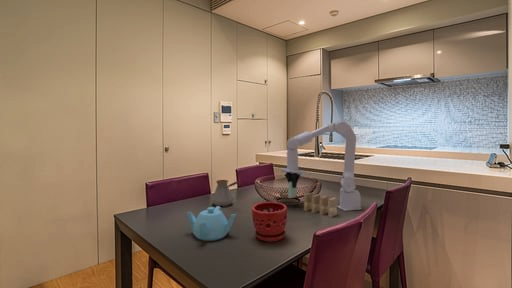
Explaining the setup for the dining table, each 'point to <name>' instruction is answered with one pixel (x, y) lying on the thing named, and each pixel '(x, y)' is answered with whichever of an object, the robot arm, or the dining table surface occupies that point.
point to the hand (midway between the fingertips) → (292, 187)
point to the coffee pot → (223, 193)
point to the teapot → (210, 224)
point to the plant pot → (269, 221)
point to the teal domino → (292, 191)
